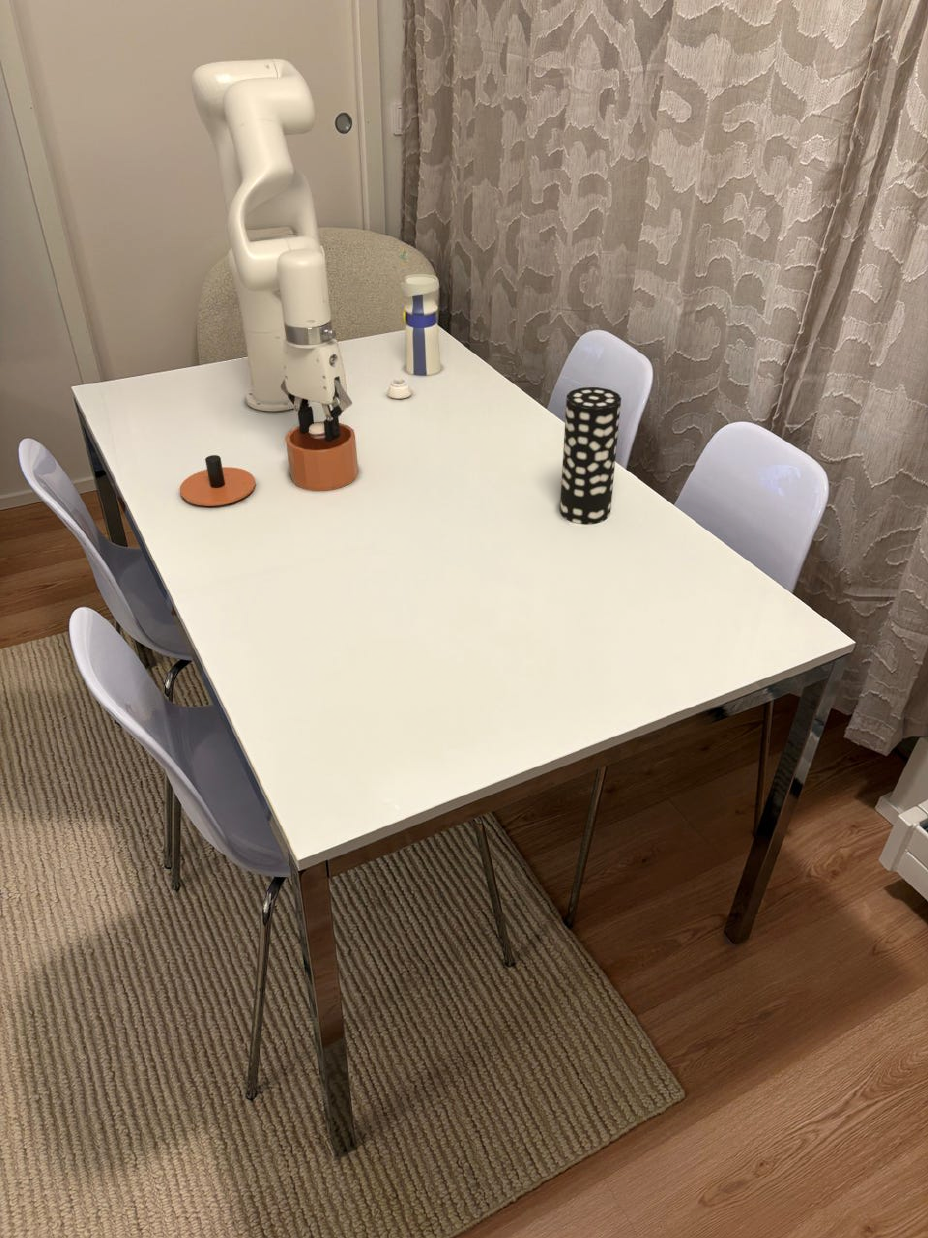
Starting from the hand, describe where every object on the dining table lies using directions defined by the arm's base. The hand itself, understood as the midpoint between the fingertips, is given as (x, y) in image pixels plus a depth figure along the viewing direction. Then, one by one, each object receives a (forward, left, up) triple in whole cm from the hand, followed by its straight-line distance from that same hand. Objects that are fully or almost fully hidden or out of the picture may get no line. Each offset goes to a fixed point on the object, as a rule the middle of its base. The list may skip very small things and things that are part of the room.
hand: (320, 434), depth 162 cm
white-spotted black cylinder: (-13, +45, -8) cm, 48 cm away
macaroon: (0, 0, -1) cm, 1 cm away
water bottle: (-49, -13, -8) cm, 51 cm away
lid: (+14, -12, -7) cm, 20 cm away
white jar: (-35, -9, -8) cm, 37 cm away
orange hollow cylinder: (0, 0, -8) cm, 8 cm away
